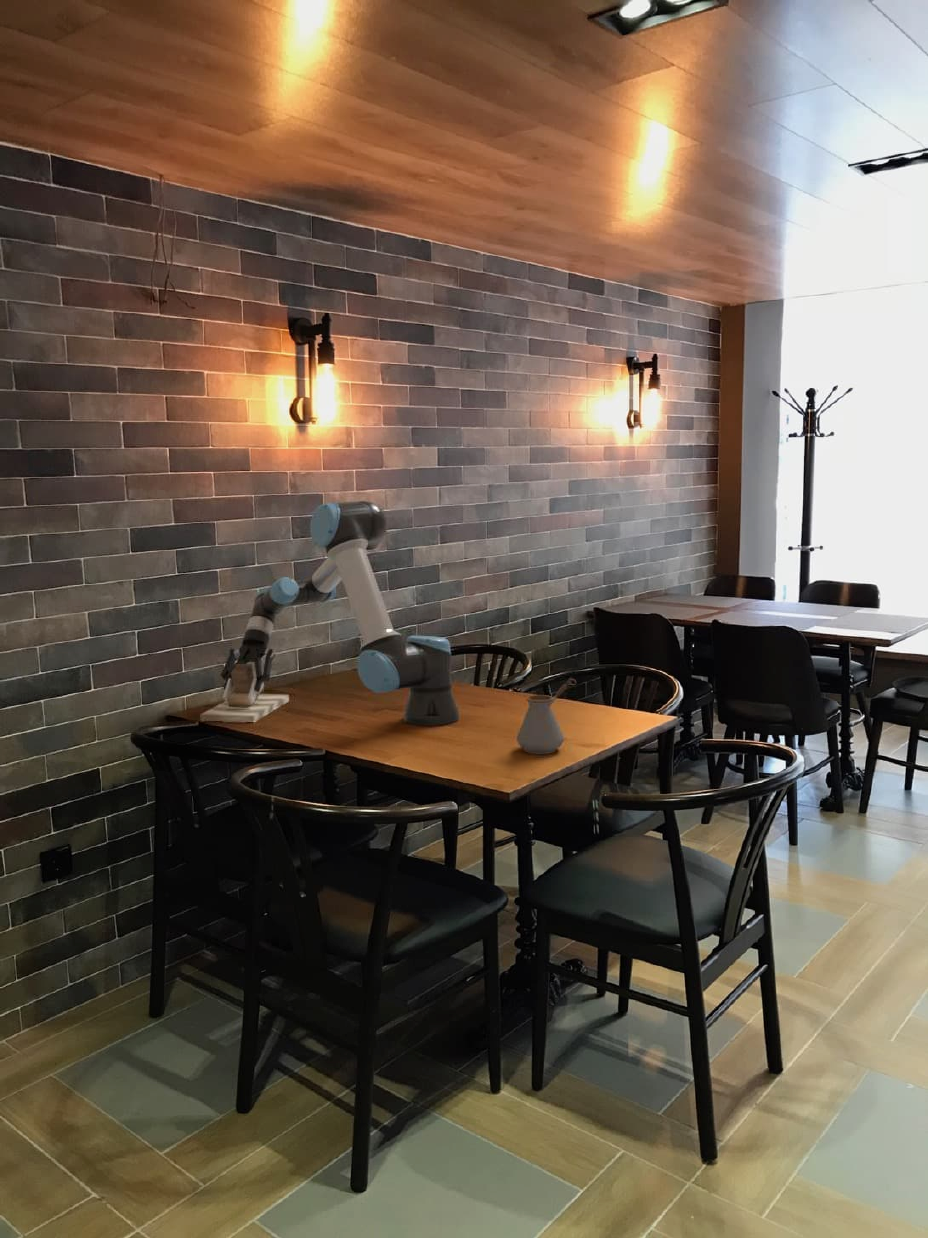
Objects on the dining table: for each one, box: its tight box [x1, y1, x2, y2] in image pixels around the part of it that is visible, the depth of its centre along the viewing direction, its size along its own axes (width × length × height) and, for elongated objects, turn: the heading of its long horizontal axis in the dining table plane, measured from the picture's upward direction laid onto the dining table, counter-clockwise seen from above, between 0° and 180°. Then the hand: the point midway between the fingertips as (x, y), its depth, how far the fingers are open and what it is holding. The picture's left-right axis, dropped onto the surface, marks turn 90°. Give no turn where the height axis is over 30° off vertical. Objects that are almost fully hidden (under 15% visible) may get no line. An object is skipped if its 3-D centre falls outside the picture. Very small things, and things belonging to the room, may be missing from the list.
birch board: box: [199, 693, 290, 723], centre depth 286 cm, size 26×16×2 cm, turn 168°
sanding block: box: [228, 663, 265, 706], centre depth 285 cm, size 11×7×10 cm, turn 171°
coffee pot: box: [516, 677, 577, 755], centre depth 239 cm, size 21×12×15 cm, turn 143°
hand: (238, 699), depth 281 cm, fingers closed on sanding block, 7 cm apart
